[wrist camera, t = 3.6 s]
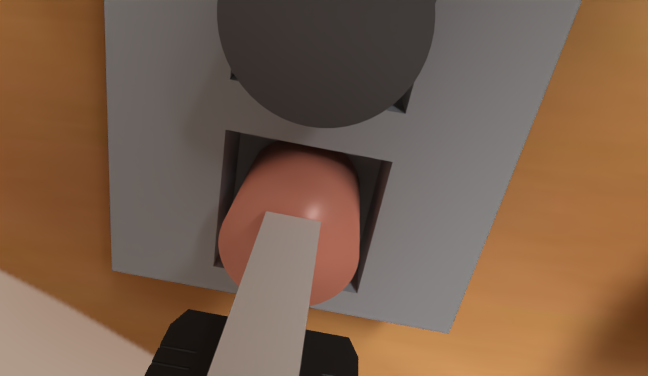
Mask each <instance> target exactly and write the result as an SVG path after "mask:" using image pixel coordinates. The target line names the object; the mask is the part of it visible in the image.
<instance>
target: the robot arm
mask: <svg viewBox="0 0 648 376" xmlns="http://www.w3.org/2000/svg"><path fill="white" fill-rule="evenodd" d="M320 226H321V221H315V220H310V219H305V218H300V217H294V216H289V215H284V214H279V213H273V212H268V211H266V213H265V216H264V219H263V221H262V224H261V227H260V230H259V233H258V235H257V238H256V241H255V244H254V247H253V249H252V252H251V255H250V258H249V260H248V263H247V266H246V269H245V272H244V274H243V277H242V280H241V283H240V285H239V288H238V291H237V294H236V297H235V299H234V302H233V305H232V308H231V310H230V313H229V316H228V317H227V316H222V315H217V314H211V313H206V312H201V311H195V310H190V309H188V310H187V311H186V312H185V313H183V314H182V315H181V316H180V317H179V318H177V319H176V320H175V321H174V322H173V323H171V324H170V326H169V328H168V330H167V332H166V334H165V336H164V338H163V340H162V342H161V344H160V348H158V350H157V352H156V354H155V356H154V358H153V360H152V363H151V365H150V366H149V368H148V370H147V372H146V374H145V376H358V356H357V354H356V352H355V350H354V347H353V345H352V343H351V341H350V339H349V338H348V337H343V336H337V335H332V334H327V333H321V332H316V331H311V330H306V323H307V316H308V309H309V302H310V295H311V288H312V281H313V274H314V267H315V261H316V254H317V247H318V240H319V233H320Z"/></svg>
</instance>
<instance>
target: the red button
mask: <svg viewBox="0 0 648 376" xmlns="http://www.w3.org/2000/svg"><path fill="white" fill-rule="evenodd" d="M266 211H268V212H273V213H279V214H284V215H289V216H294V217H300V218H305V219H310V220H315V221H321V226H320V233H319V240H318V247H317V254H316V261H315V267H314V274H313V281H312V288H311V295H310V302H309V306H312V305H316V304H319V303H322V302H324V301H327V300H329V299H331V298H332V297H334V296H336V295H337V294H338V293H340V292H341V291H342V290H343V289H344V288H345V287H346V286H347V285H348V284H349V282H350V281H351V280H352V278H353V276H354V274H355V272H356V269H357V266H358V262H359V244H360V184H359V178H358V174H357V171H356V169H355V167H354V165H353V163H352V162H351V160H350V159H349V158H348V157H347V155H346V154H345V153H343V152H338V151H333V150H328V149H323V148H318V147H312V146H307V145H302V144H297V143H292V142H287V141H282V140H277V141H275V142H273V143H271V144H270V145H268V146H267V147H266V148H264V149H263V150H262V151H261V152H260V153H259V154H258V156H257V157H256V158H255V160H254V162H253V164H252V166H251V168H250V170H249V172H248V174H247V176H246V178H245V180H244V182H243V184H242V186H241V188H240V190H239V192H238V194H237V196H236V197H235V199H234V201H233V203H232V205H231V207H230V209H229V211H228V213H227V215H226V217H225V219H224V221H223V223H222V226H221V229H220V233H219V239H218V247H219V254H220V258H221V261H222V263H223V266H224V268H225V270H226V271H227V273H228V275H229V276H230V277H231V279H232V280H233V281H234V282H235V283H236V284H237V285H238V286H239V285H240V283H241V280H242V277H243V274H244V272H245V269H246V266H247V263H248V260H249V258H250V255H251V252H252V249H253V247H254V244H255V241H256V238H257V235H258V233H259V230H260V227H261V224H262V221H263V219H264V216H265V213H266Z"/></svg>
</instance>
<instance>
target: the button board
mask: <svg viewBox="0 0 648 376" xmlns="http://www.w3.org/2000/svg"><path fill="white" fill-rule="evenodd" d="M217 1H218V0H104V14H105V48H106V83H107V118H108V152H109V187H110V221H111V256H112V271H116V272H122V273H127V274H132V275H138V276H143V277H148V278H154V279H159V280H164V281H170V282H175V283H180V284H186V285H191V286H196V287H202V288H207V289H212V290H218V291H223V292H228V293H234V294H237V291H238V288H239V286H238V285H237V284H236V283H235V282H234V281H233V280H232V279H231V277H230V276H229V275H228V273H227V271H226V270H225V268H224V266H223V263H222V261H221V258H220V254H219V247H218V239H219V233H220V229H221V226H222V223H223V221H224V219H225V217H226V215H227V213H228V211H229V209H230V207H231V205H232V203H233V201H234V199H235V197H236V196H237V194H238V192H239V190H240V188H241V186H242V184H243V182H244V180H245V178H246V176H247V174H248V172H249V170H250V168H251V166H252V164H253V162H254V160H255V158H256V157H257V156H258V154H259V153H260V152H261V151H262V150H263V149H264V148H266V147H267V146H268V145H270V144H271V143H273V142H275V141H277V140H282V141H287V142H292V143H297V144H302V145H307V146H312V147H318V148H323V149H328V150H333V151H338V152H343V153H345V154H346V155H347V157H348V158H349V159H350V160H351V162H352V163H353V165H354V167H355V169H356V171H357V174H358V178H359V184H360V244H359V262H358V266H357V269H356V272H355V274H354V276H353V278H352V280H351V281H350V282H349V284H348V285H347V286H346V287H345V288H344V289H343V290H342V291H341V292H340V293H338V294H337V295H336V296H334V297H332V298H331V299H329V300H327V301H324V302H322V303H319V304H316V305H312V306H309V308H314V309H319V310H325V311H330V312H335V313H341V314H346V315H351V316H357V317H362V318H367V319H373V320H378V321H383V322H389V323H394V324H399V325H405V326H410V327H415V328H421V329H426V330H431V331H437V332H442V333H447V334H449V332H450V329H451V327H452V324H453V322H454V319H455V317H456V314H457V312H458V309H459V307H460V304H461V302H462V299H463V297H464V294H465V292H466V289H467V287H468V284H469V282H470V279H471V277H472V274H473V272H474V269H475V267H476V264H477V262H478V259H479V257H480V254H481V252H482V249H483V247H484V244H485V242H486V239H487V237H488V234H489V232H490V229H491V227H492V224H493V222H494V219H495V217H496V214H497V212H498V209H499V207H500V204H501V202H502V199H503V197H504V194H505V192H506V189H507V187H508V184H509V182H510V179H511V177H512V174H513V172H514V169H515V167H516V164H517V162H518V159H519V157H520V154H521V151H522V149H523V146H524V144H525V141H526V139H527V136H528V134H529V131H530V129H531V126H532V124H533V121H534V119H535V116H536V114H537V111H538V109H539V106H540V104H541V101H542V99H543V96H544V94H545V91H546V89H547V86H548V84H549V81H550V79H551V76H552V74H553V71H554V69H555V66H556V64H557V61H558V59H559V56H560V54H561V51H562V49H563V46H564V44H565V41H566V39H567V36H568V34H569V31H570V29H571V26H572V24H573V21H574V19H575V16H576V14H577V11H578V9H579V6H580V4H581V1H582V0H435V28H434V35H433V40H432V44H431V48H430V51H429V54H428V57H427V60H426V62H425V64H424V66H423V68H422V70H421V72H420V74H419V75H418V77H417V78H416V80H415V81H414V83H413V84H412V86H411V87H410V88H409V89H408V90H407V92H406V93H405V94H404V95H403V96H402V97H401V98H400V99H399V100H398V101H397V102H396V103H394V104H393V105H392V106H391V107H389V108H388V109H386V110H385V111H384V112H382V113H380V114H378V115H377V116H375V117H373V118H371V119H369V120H366V121H364V122H361V123H358V124H354V125H350V126H346V127H339V128H315V127H307V126H303V125H299V124H296V123H293V122H290V121H288V120H285V119H283V118H281V117H279V116H277V115H275V114H273V113H272V112H270V111H269V110H267V109H266V108H264V107H263V106H262V105H260V104H259V103H258V102H257V101H256V100H255V99H254V98H252V97H251V96H250V95H249V94H248V92H247V91H246V90H245V89H244V88H243V87H242V85H241V84H240V83H239V81H238V80H237V78H236V77H235V75H234V74H233V72H232V70H231V68H230V66H229V64H228V62H227V60H226V57H225V54H224V51H223V49H222V45H221V41H220V37H219V32H218V23H217Z"/></svg>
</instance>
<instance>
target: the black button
mask: <svg viewBox="0 0 648 376" xmlns="http://www.w3.org/2000/svg"><path fill="white" fill-rule="evenodd" d="M217 23H218V32H219V37H220V41H221V45H222V49H223V51H224V54H225V57H226V60H227V62H228V64H229V66H230V68H231V70H232V72H233V74H234V75H235V77H236V78H237V80H238V81H239V83H240V84H241V85H242V87H243V88H244V89H245V90H246V91H247V92H248V94H249V95H250V96H251V97H252V98H254V99H255V100H256V101H257V102H258V103H259V104H260V105H262V106H263V107H264V108H266V109H267V110H269V111H270V112H272V113H273V114H275V115H277V116H279V117H281V118H283V119H285V120H288V121H290V122H293V123H296V124H299V125H303V126H307V127H315V128H339V127H346V126H350V125H354V124H358V123H361V122H364V121H366V120H369V119H371V118H373V117H375V116H377V115H378V114H380V113H382V112H384V111H385V110H386V109H388V108H389V107H391V106H392V105H393V104H394V103H396V102H397V101H398V100H399V99H400V98H401V97H402V96H403V95H404V94H405V93H406V92H407V90H408V89H409V88H410V87H411V86H412V84H413V83H414V81H415V80H416V78H417V77H418V75H419V74H420V72H421V70H422V68H423V66H424V64H425V62H426V60H427V57H428V54H429V51H430V48H431V44H432V40H433V35H434V28H435V0H218V1H217Z"/></svg>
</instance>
